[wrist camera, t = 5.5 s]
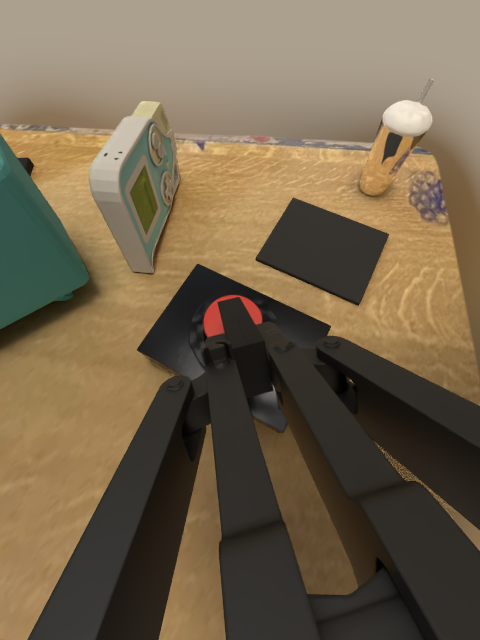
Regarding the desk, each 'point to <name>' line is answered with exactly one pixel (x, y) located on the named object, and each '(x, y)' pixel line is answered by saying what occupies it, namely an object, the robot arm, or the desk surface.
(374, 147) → the milkshake
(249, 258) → the desk surface
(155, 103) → the handheld gaming console
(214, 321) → the button
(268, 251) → the mouse pad
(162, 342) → the button box
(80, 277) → the radio
